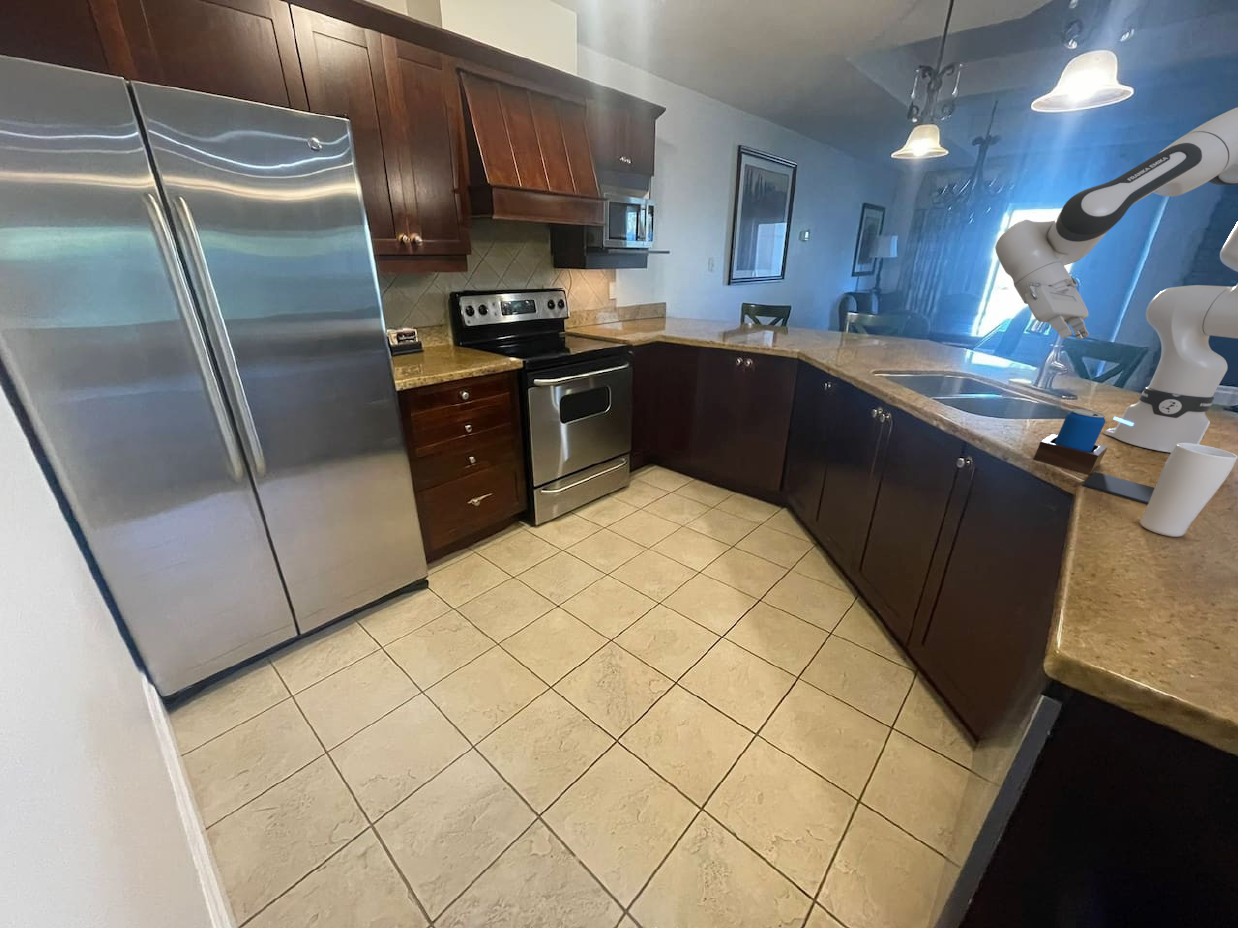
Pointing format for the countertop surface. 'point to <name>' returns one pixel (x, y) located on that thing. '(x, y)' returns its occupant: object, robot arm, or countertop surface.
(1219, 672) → the countertop surface
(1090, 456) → the box
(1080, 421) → the beverage can
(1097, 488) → the coaster
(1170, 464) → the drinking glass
